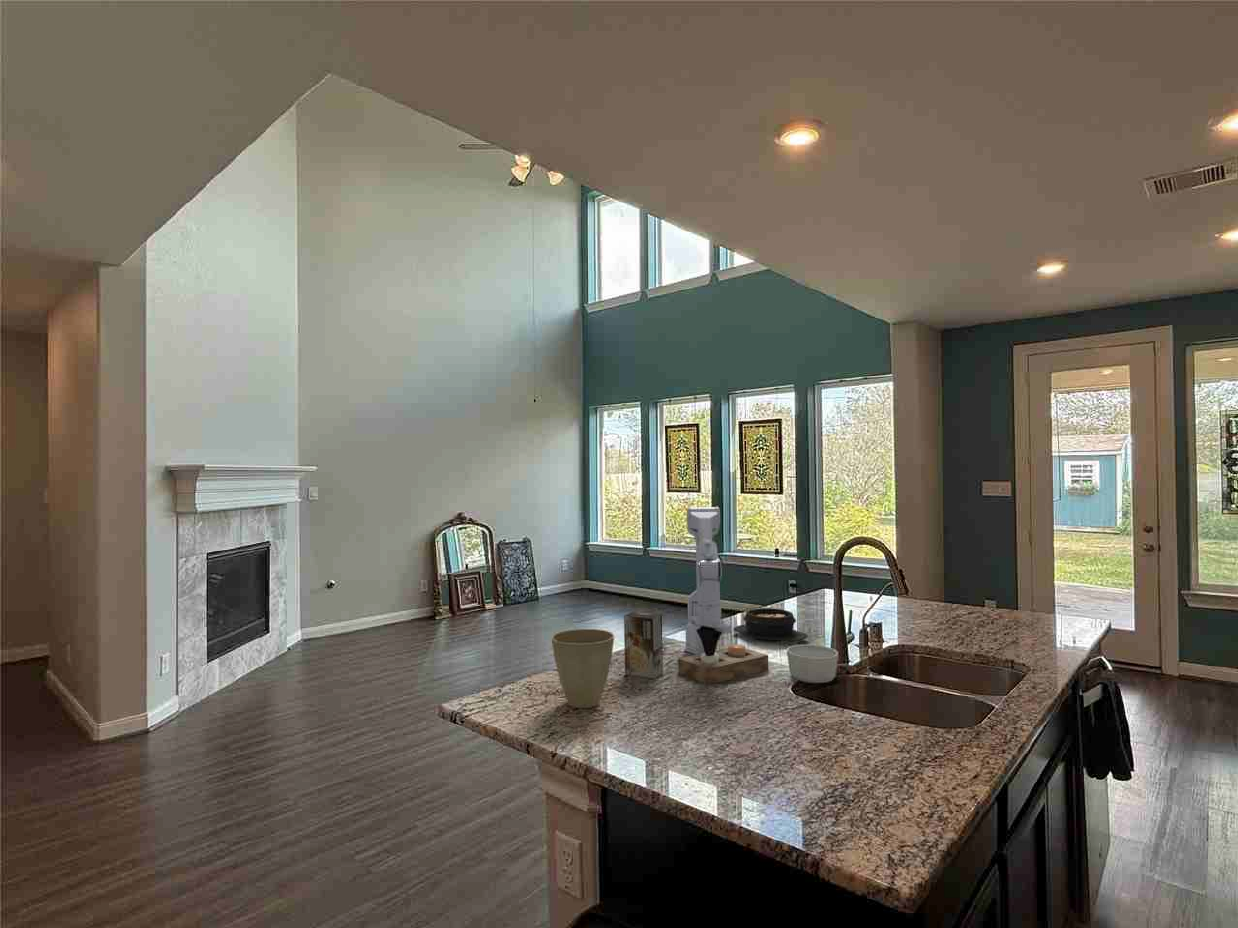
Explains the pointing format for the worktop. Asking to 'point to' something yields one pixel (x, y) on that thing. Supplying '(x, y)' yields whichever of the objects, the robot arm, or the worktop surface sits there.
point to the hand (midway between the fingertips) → (709, 655)
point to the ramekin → (812, 663)
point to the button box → (722, 666)
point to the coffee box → (643, 644)
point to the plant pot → (583, 664)
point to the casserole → (770, 626)
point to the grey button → (709, 658)
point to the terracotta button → (736, 650)
